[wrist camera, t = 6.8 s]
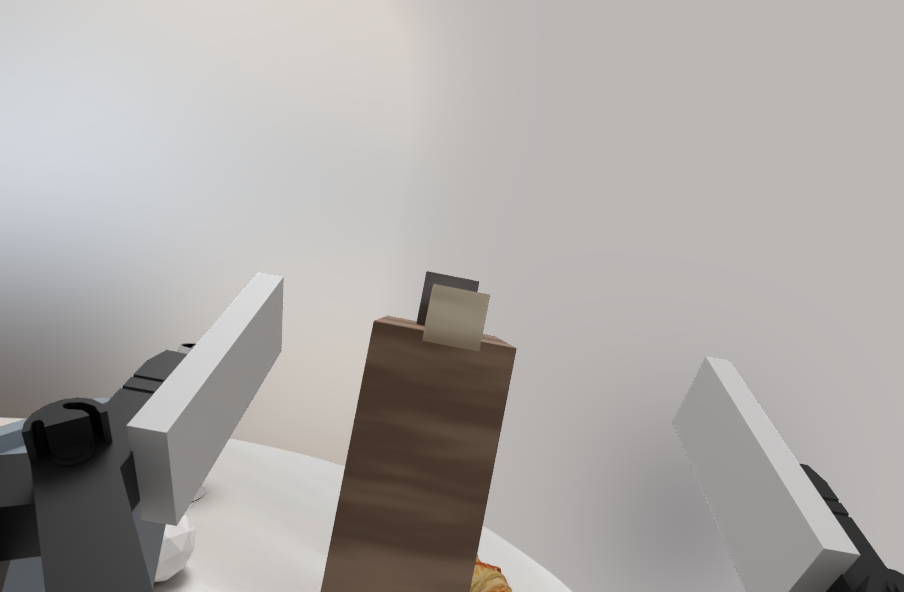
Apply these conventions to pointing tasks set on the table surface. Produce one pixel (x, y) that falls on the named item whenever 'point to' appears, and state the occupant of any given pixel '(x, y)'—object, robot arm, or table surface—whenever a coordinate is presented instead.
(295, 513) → the table surface
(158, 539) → the rail stand
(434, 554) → the walnut stand
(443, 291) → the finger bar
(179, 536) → the ornament
